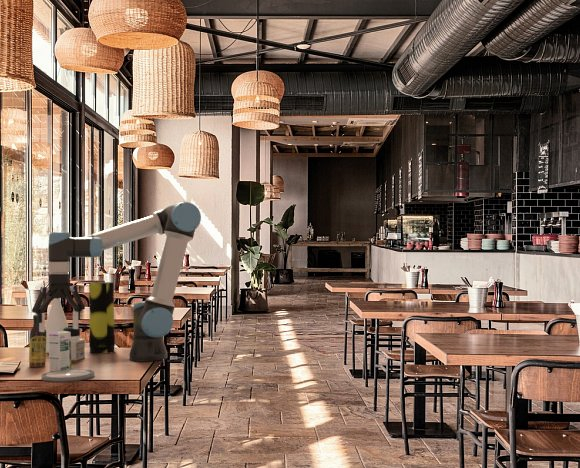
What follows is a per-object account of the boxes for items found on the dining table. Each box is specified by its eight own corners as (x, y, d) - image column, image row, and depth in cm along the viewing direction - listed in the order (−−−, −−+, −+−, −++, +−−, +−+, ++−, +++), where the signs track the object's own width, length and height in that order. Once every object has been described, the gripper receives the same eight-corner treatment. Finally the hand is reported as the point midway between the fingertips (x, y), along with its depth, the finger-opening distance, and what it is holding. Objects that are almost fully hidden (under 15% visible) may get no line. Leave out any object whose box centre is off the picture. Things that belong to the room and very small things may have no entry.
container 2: (117, 350, 337) (116, 282, 337) (112, 353, 326) (111, 283, 326) (92, 350, 336) (91, 282, 337) (86, 354, 326) (86, 283, 326)
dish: (99, 372, 279) (99, 368, 279) (86, 381, 261) (86, 377, 261) (50, 373, 279) (50, 369, 279) (34, 382, 261) (34, 378, 261)
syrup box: (59, 372, 280) (59, 333, 280) (48, 371, 283) (48, 332, 283) (71, 370, 285) (71, 331, 285) (60, 368, 288) (60, 330, 288)
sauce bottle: (30, 368, 291) (29, 316, 291) (27, 365, 296) (27, 314, 297) (48, 366, 294) (47, 315, 294) (45, 364, 299) (44, 313, 300)
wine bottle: (71, 352, 331) (70, 283, 331) (49, 354, 326) (48, 284, 326) (64, 350, 339) (63, 282, 339) (42, 352, 333) (41, 283, 334)
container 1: (76, 360, 309) (75, 328, 309) (58, 360, 310) (58, 328, 310) (85, 357, 316) (84, 326, 316) (67, 357, 318) (67, 326, 318)
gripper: (83, 272, 296) (83, 326, 296) (22, 274, 278) (22, 332, 278) (94, 272, 291) (94, 328, 290) (32, 274, 273) (31, 333, 273)
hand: (58, 330), depth 284 cm, fingers open, 13 cm apart
